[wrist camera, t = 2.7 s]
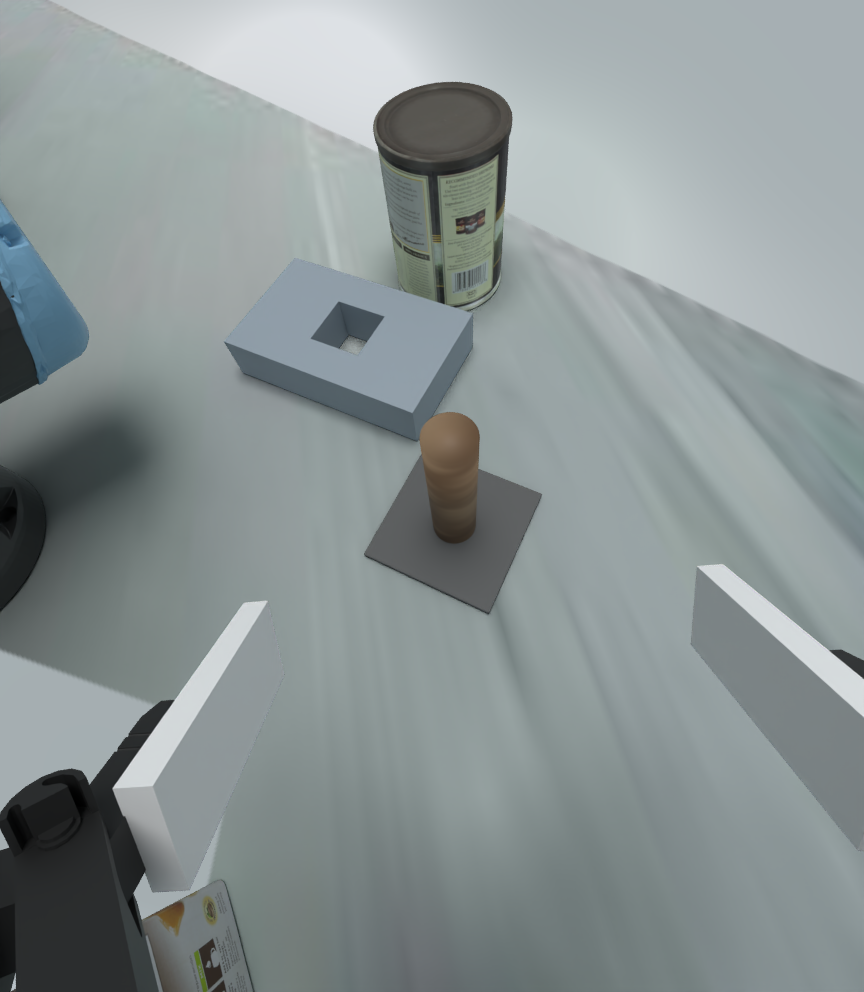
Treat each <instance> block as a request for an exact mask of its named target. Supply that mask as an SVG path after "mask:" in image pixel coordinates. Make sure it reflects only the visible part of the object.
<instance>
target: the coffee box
mask: <svg viewBox="0 0 864 992" xmlns="http://www.w3.org/2000/svg"><path fill="white" fill-rule="evenodd" d="M142 924H143V928H144V932H145V936H146V940H147V945H148V949H149V953H150V957H151V961H152V965H153V969H154V973H155V977H156V981H157V985H158V990H159V992H253V989H252V985H251V981H250V977H249V974H248V970H247V966H246V962H245V958H244V954H243V950H242V946H241V942H240V938H239V935H238V931H237V927H236V923H235V919H234V916H233V912H232V908H231V904H230V901H229V897H228V893H227V889H226V886H225V884H224V882H223V881H222V880H218V881H215V882H213V883H211V884H209V885H207V886H205V887H203V888H202V889H200V890H198V891H196V892H194V893H192V894H190V895H188V896H186V897H184V898H183V899H181V900H179V901H177V902H175V903H173V904H171V905H169V906H167V907H165V908H163V909H162V910H160V911H158V912H156V913H154V914H152V915H150V916H149V917H147V918H145V919H143V920H142ZM11 992H16V989H14V990H13V991H11Z"/></svg>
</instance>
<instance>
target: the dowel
mask: <svg viewBox="0 0 864 992" xmlns="http://www.w3.org/2000/svg"><path fill="white" fill-rule="evenodd" d="M479 440H480V436H479V430H478V428H477V426H476V424H475V423H474V422H473V421H472V420H471V419H470V418H468V417H467V416H465V415H463V414H459V413H455V412H446V413H441V414H438V415H436V416H434V417H432V418H430V419H429V420H428V421H427V422H426V423H425V424H424V426H423V427H422V429H421V432H420V446H421V452H422V459H423V465H424V471H425V478H426V484H427V490H428V497H429V503H430V509H431V516H432V522H433V528H434V531H435V533H436V535H437V536H438V537H439V538H440V539H441V540H443V541H445V542H447V543H453V544H456V543H461V542H464V541H466V540H467V539H469V538H470V537H471V536H472V534H473V533H474V530H475V527H476V508H477V485H478V463H479Z"/></svg>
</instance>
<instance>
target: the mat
mask: <svg viewBox="0 0 864 992" xmlns="http://www.w3.org/2000/svg"><path fill="white" fill-rule="evenodd" d="M541 495H542V494H541V493H538V492H535V491H533V490H530V489H528V488H525V487H523V486H520V485H518V484H515V483H513V482H510V481H508V480H505V479H503V478H500V477H498V476H495V475H492V474H490V473H487V472H485V471H482V470H480V469H478V485H477V508H476V527H475V530H474V533H473V534H472V536H471V537H470V538H469V539H467V540H466V541H464V542H461V543H456V544H453V543H447V542H445V541H443V540H441V539H440V538H439V537H438V536H437V535H436V533H435V531H434V528H433V522H432V516H431V509H430V503H429V497H428V490H427V484H426V478H425V471H424V465H423V459H422V454H421V456H420V457H419V459H418V461H417V463H416V464H415V466H414V468H413V470H412V471H411V473H410V475H409V476H408V478H407V480H406V482H405V483H404V485H403V487H402V489H401V490H400V492H399V494H398V496H397V497H396V499H395V501H394V503H393V504H392V506H391V508H390V510H389V511H388V513H387V515H386V517H385V518H384V520H383V522H382V523H381V525H380V527H379V529H378V530H377V532H376V534H375V536H374V537H373V539H372V541H371V543H370V544H369V546H368V548H367V550H366V551H365V553H364V555H365V556H367V557H369V558H371V559H373V560H375V561H377V562H379V563H382V564H384V565H386V566H388V567H390V568H392V569H394V570H396V571H399V572H401V573H403V574H405V575H407V576H409V577H411V578H413V579H416V580H418V581H420V582H422V583H424V584H426V585H428V586H430V587H433V588H435V589H437V590H439V591H441V592H443V593H445V594H447V595H450V596H452V597H454V598H456V599H458V600H460V601H462V602H464V603H466V604H469V605H471V606H473V607H475V608H477V609H479V610H481V611H483V612H486V613H488V614H489V612H490V610H491V608H492V606H493V603H494V601H495V599H496V597H497V594H498V592H499V590H500V588H501V585H502V583H503V581H504V579H505V576H506V574H507V572H508V570H509V567H510V565H511V563H512V561H513V558H514V556H515V554H516V552H517V549H518V547H519V545H520V543H521V540H522V538H523V536H524V534H525V532H526V529H527V527H528V525H529V523H530V520H531V518H532V516H533V514H534V511H535V509H536V507H537V505H538V502H539V500H540V498H541Z"/></svg>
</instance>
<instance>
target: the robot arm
mask: <svg viewBox="0 0 864 992" xmlns="http://www.w3.org/2000/svg"><path fill="white" fill-rule="evenodd" d="M88 340H89V332H88V328H87V325H86V323H85V322H84V320H83V318H82V317H81V315H80V314H79V312H78V311H77V309H76V308H75V307H74V305H73V304H72V302H71V301H70V299H69V298H68V296H67V295H66V293H65V292H64V291H63V289H62V288H61V286H60V285H59V283H58V282H57V280H56V279H55V277H54V276H53V275H52V273H51V272H50V270H49V269H48V267H47V266H46V264H45V263H44V262H43V260H42V259H41V257H40V256H39V254H38V253H37V251H36V250H35V249H34V247H33V246H32V244H31V243H30V241H29V240H28V239H27V237H26V236H25V234H24V233H23V231H22V230H21V229H20V227H19V226H18V224H17V223H16V221H15V220H14V218H13V217H12V215H11V214H10V212H9V211H8V210H7V208H6V207H5V205H4V204H3V202H2V201H1V199H0V404H1V403H2V402H4V401H6V400H8V399H10V398H12V397H14V396H15V395H17V394H19V393H21V392H23V391H25V390H27V389H29V388H30V387H32V386H34V385H36V384H39V385H40V384H42V383H44V381H46V380H47V378H48V375H50V374H52V373H53V372H55V371H56V370H58V369H60V368H61V367H63V366H64V365H66V364H68V363H69V362H71V361H73V360H74V359H76V358H77V357H79V356H80V355H81V354H82V353H83V352H84V351H85V349H86V347H87V344H88ZM45 525H46V519H45V510H44V506H43V503H42V500H41V498H40V496H39V494H38V492H37V491H36V489H35V488H34V487H33V486H32V485H31V484H30V483H29V482H28V481H26V480H25V479H23V478H22V477H20V476H18V475H17V474H15V473H13V472H11V471H10V470H8V469H6V468H5V467H3V466H1V465H0V609H1V608H2V607H3V606H4V605H5V604H6V603H7V602H8V601H9V600H10V599H11V598H12V597H13V595H14V594H15V593H16V592H17V591H18V589H19V588H20V587H21V585H22V584H23V583H24V581H25V580H26V578H27V577H28V575H29V573H30V572H31V570H32V568H33V566H34V564H35V562H36V560H37V558H38V555H39V553H40V550H41V547H42V543H43V540H44V534H45ZM691 645H692V647H693V648H694V649H695V650H696V652H697V653H698V654H699V655H700V656H701V658H702V659H703V660H704V661H705V663H706V664H707V665H708V666H709V668H710V669H711V670H712V671H713V672H714V674H715V675H716V676H717V677H718V679H719V680H720V681H721V682H722V684H723V685H724V686H725V687H726V689H727V690H728V691H729V692H730V693H731V695H732V696H733V697H734V698H735V700H736V701H737V702H738V703H739V705H740V706H741V707H742V708H743V710H744V711H745V712H746V713H747V714H748V716H749V717H750V718H751V719H752V721H753V722H754V723H755V724H756V726H757V727H758V728H759V729H760V730H761V732H762V733H763V734H764V735H765V737H766V738H767V739H768V740H769V742H770V743H771V744H772V745H773V747H774V748H775V749H776V750H777V751H778V753H779V754H780V755H781V756H782V758H783V759H784V760H785V761H786V763H787V764H788V765H789V766H790V768H791V769H792V770H793V771H794V772H795V774H796V775H797V776H798V777H799V779H800V780H801V781H802V782H803V784H804V785H805V786H806V787H807V788H808V790H809V791H810V792H811V793H812V795H813V796H814V797H815V798H816V800H817V801H818V802H819V803H820V805H821V806H822V807H823V808H824V809H825V811H826V812H827V813H828V814H829V816H830V817H831V818H832V819H833V821H834V822H835V823H836V824H837V826H838V827H839V828H840V829H841V830H842V832H843V833H844V834H845V835H846V837H847V838H848V839H849V840H850V842H851V843H852V844H853V845H854V846H855V848H856V849H857V850H858V851H864V661H863V660H861V659H859V658H857V657H855V656H853V655H851V654H849V653H847V652H845V651H843V650H827V649H826V648H825V647H824V646H822V645H821V644H820V643H819V642H818V641H816V640H815V639H814V638H813V637H811V636H810V635H809V634H808V633H807V632H805V631H804V630H803V629H802V628H800V627H799V626H798V625H797V624H796V623H794V622H793V621H792V620H791V619H789V618H788V617H787V616H786V615H784V614H783V613H782V612H781V611H780V610H778V609H777V608H776V607H775V606H773V605H772V604H771V603H770V602H769V601H767V600H766V599H765V598H764V597H762V596H761V595H760V594H759V593H758V592H756V591H755V590H754V589H753V588H751V587H750V586H749V585H748V584H746V583H745V582H744V581H743V580H742V579H740V578H739V577H738V576H737V575H735V574H734V573H733V572H732V571H731V570H729V569H728V568H727V567H726V566H724V565H723V564H718V565H706V566H697V571H696V584H695V596H694V609H693V621H692V634H691ZM284 675H285V674H284V669H283V665H282V661H281V656H280V652H279V647H278V643H277V638H276V634H275V629H274V625H273V621H272V616H271V612H270V607H269V603H268V601H259V602H246V603H243V605H242V606H241V607H240V609H239V610H238V612H237V613H236V615H235V616H234V617H233V619H232V620H231V622H230V623H229V624H228V626H227V627H226V629H225V630H224V632H223V633H222V634H221V636H220V637H219V639H218V640H217V641H216V643H215V644H214V646H213V647H212V648H211V650H210V651H209V653H208V654H207V656H206V657H205V658H204V660H203V661H202V663H201V664H200V665H199V667H198V668H197V670H196V671H195V673H194V674H193V675H192V677H191V678H190V680H189V681H188V682H187V684H186V685H185V687H184V688H183V690H182V691H181V692H180V694H179V695H178V697H177V698H176V699H175V700H167V701H160V702H159V703H158V704H157V705H155V706H154V707H153V708H152V709H150V710H149V711H148V712H147V713H146V714H145V715H143V716H142V717H141V718H140V719H139V721H138V722H137V723H136V725H135V726H134V727H133V729H132V730H131V731H130V733H129V736H128V737H126V738H125V739H124V741H123V742H122V743H121V745H120V746H119V747H118V751H117V752H114V754H113V755H112V756H111V757H110V759H109V760H108V761H107V763H106V764H105V765H104V767H103V768H102V769H101V771H100V772H99V773H98V774H97V776H96V777H95V779H94V780H93V781H92V782H91V784H90V785H89V783H88V780H87V778H86V776H85V775H84V773H83V772H82V771H80V770H75V769H67V770H60V771H56V772H54V773H51V774H48V775H46V776H43V777H41V778H39V779H38V780H36V781H34V782H33V783H31V784H29V785H28V786H26V787H25V788H23V789H22V790H21V791H20V792H19V793H18V794H16V795H15V796H14V797H13V798H12V799H11V800H10V801H9V802H8V803H7V805H6V806H5V807H4V808H3V810H2V811H1V813H0V829H1V831H2V833H3V835H4V837H5V839H6V841H7V843H8V845H9V847H10V848H7V849H4V850H1V851H0V992H10V991H11V988H12V984H13V980H14V976H15V973H16V992H159V990H158V985H157V981H156V977H155V973H154V969H153V965H152V961H151V957H150V953H149V949H148V945H147V940H146V936H145V932H144V928H143V924H142V920H141V916H140V912H139V908H138V904H137V901H136V899H135V896H134V894H133V893H134V891H135V889H136V887H137V885H138V884H139V882H140V880H141V878H142V876H143V874H144V872H145V874H146V876H147V879H148V882H149V884H150V887H151V890H152V892H169V891H185V890H190V888H191V886H192V884H193V881H194V879H195V877H196V874H197V872H198V870H199V868H200V865H201V863H202V861H203V859H204V856H205V854H206V851H207V849H208V847H209V845H210V843H211V840H212V838H213V836H214V834H215V831H216V829H217V827H218V825H219V822H220V820H221V818H222V816H223V813H224V811H225V809H226V807H227V804H228V802H229V800H230V797H231V795H232V793H233V791H234V788H235V786H236V784H237V782H238V779H239V777H240V775H241V773H242V770H243V768H244V766H245V763H246V761H247V759H248V757H249V754H250V752H251V750H252V748H253V745H254V743H255V741H256V738H257V736H258V734H259V732H260V729H261V727H262V725H263V723H264V720H265V718H266V716H267V714H268V711H269V709H270V707H271V704H272V702H273V700H274V698H275V695H276V693H277V691H278V689H279V686H280V684H281V682H282V680H283V677H284Z"/></svg>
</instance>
